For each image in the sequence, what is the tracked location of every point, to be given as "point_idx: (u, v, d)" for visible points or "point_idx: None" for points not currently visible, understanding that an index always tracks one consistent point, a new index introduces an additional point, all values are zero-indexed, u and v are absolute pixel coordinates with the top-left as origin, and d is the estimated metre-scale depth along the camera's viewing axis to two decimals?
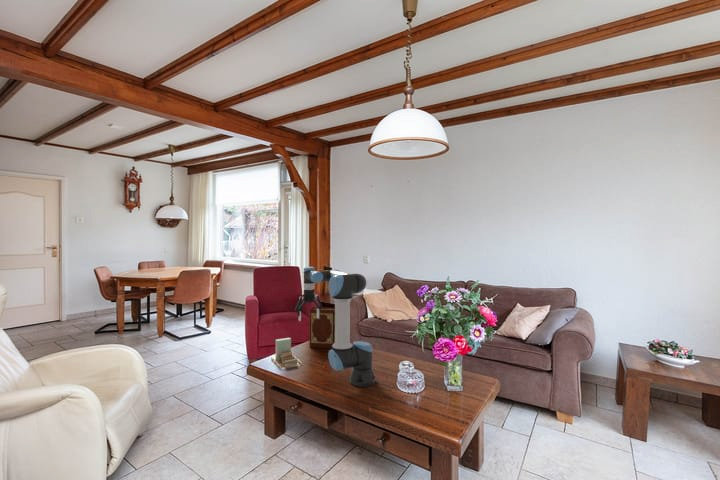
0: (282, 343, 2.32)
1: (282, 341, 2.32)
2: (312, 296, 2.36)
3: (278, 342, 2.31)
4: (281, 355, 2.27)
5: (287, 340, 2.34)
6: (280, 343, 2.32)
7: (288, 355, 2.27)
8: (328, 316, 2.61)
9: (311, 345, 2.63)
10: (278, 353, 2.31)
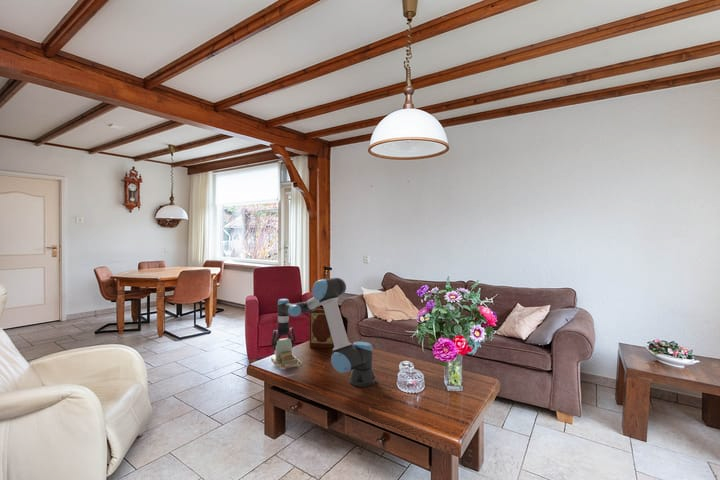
0: (282, 343, 2.32)
1: (282, 341, 2.32)
2: (287, 328, 2.34)
3: (278, 342, 2.31)
4: (281, 355, 2.27)
5: (287, 340, 2.34)
6: (280, 343, 2.32)
7: (288, 355, 2.27)
8: None
9: (311, 345, 2.63)
10: (278, 353, 2.31)
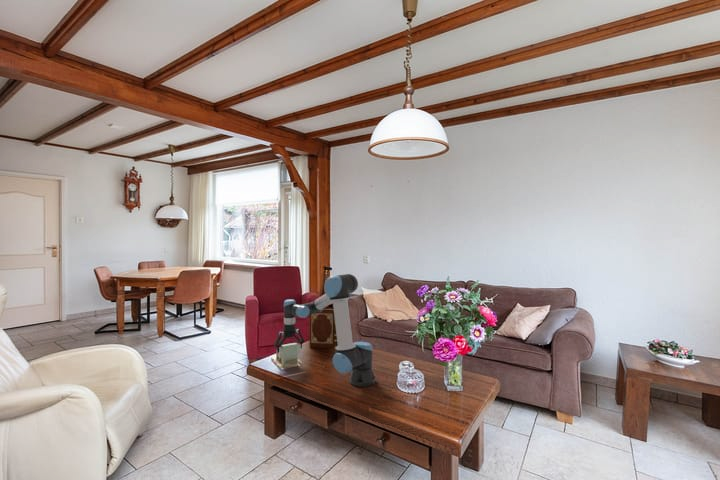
0: (289, 349, 2.21)
1: (288, 346, 2.21)
2: (293, 331, 2.23)
3: (284, 347, 2.20)
4: None
5: (294, 345, 2.23)
6: (286, 348, 2.20)
7: None
8: (328, 316, 2.61)
9: (311, 345, 2.63)
10: (284, 359, 2.20)
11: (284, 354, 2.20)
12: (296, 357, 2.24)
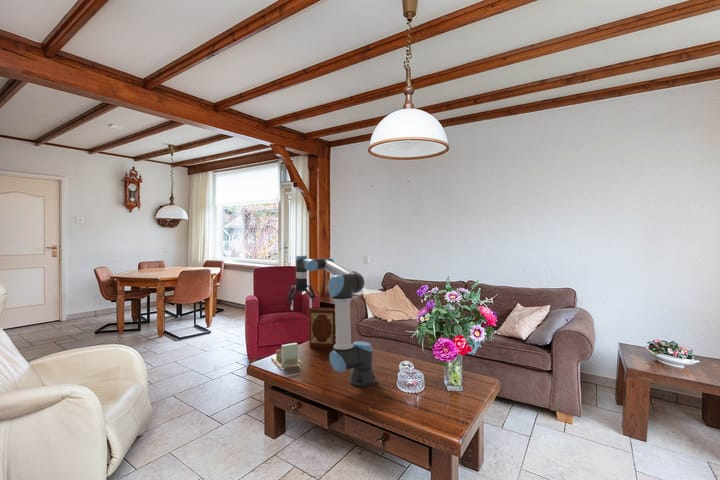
0: (289, 349, 2.21)
1: (288, 346, 2.21)
2: (305, 285, 2.32)
3: (284, 347, 2.20)
4: None
5: (294, 345, 2.23)
6: (286, 348, 2.20)
7: None
8: (328, 316, 2.61)
9: (311, 345, 2.63)
10: (284, 359, 2.20)
11: (284, 354, 2.20)
12: (296, 357, 2.24)
